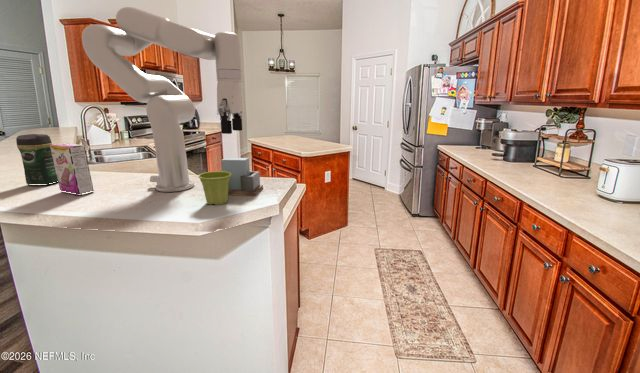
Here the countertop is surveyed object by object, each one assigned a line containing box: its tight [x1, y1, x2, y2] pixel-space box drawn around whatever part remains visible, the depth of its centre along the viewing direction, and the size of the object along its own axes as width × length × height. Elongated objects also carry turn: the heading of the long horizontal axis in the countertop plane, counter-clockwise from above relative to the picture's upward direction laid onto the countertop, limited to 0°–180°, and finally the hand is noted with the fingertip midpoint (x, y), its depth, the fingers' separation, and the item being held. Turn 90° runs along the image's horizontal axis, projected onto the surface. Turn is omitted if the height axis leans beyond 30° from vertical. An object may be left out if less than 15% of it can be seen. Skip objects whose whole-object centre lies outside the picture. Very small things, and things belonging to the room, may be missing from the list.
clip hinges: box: [240, 170, 261, 191], centre depth 110 cm, size 13×8×5 cm, turn 85°
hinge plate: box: [228, 184, 264, 197], centre depth 111 cm, size 15×9×1 cm, turn 85°
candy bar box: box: [50, 142, 95, 194], centre depth 108 cm, size 11×5×16 cm, turn 65°
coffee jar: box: [15, 133, 58, 185], centre depth 119 cm, size 10×8×19 cm
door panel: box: [220, 157, 251, 190], centre depth 109 cm, size 8×4×10 cm, turn 85°
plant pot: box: [198, 170, 231, 206], centre depth 98 cm, size 9×9×9 cm
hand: (232, 131), depth 106 cm, fingers open, 9 cm apart
